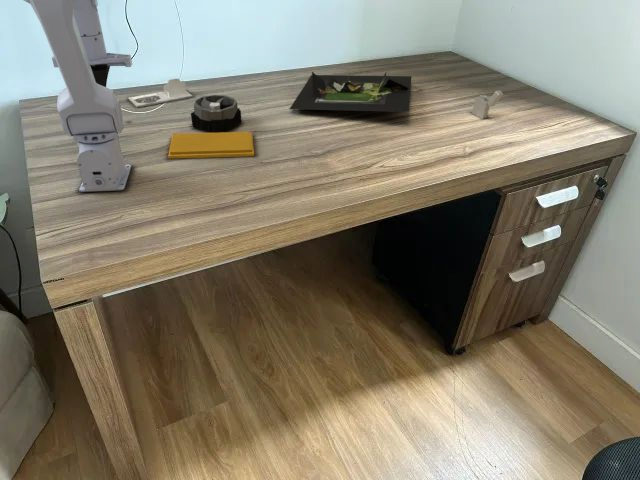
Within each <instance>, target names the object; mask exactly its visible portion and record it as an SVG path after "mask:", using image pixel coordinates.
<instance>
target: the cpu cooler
mask: <svg viewBox="0 0 640 480" xmlns="http://www.w3.org/2000/svg"><path fill="white" fill-rule="evenodd" d="M190 117H191V119H190V120H191V125H192V127H193V128H194V129H198V130H202V131H205V132H208V133H219V132H230V131H231V130H232V129H234V128H235V127H237V126H239V125H241V123H242V110H241V109H240V108H239V107H238V101H237V100H236V99H235V98H234V97H232V96H228V95H223V94H222V95H221V94H211V95H205V96H204V95H203V96H200V97H199V98H197V99H196V100H195V101H194V103H193V112H191V113H190Z"/></svg>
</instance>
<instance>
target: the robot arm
mask: <svg viewBox="0 0 640 480" xmlns="http://www.w3.org/2000/svg"><path fill="white" fill-rule="evenodd" d="M23 1H24V2H26V3H27V4H29V5H30V6H31V8H32V10H33V11H34V13H35V15H36V17H37V19H38V22H39V23H40V25H41V28H42V30H43V32H44V35H45V37H46V40H47V42H48V45H49V48H50V50H51V51H52V57H51V60H52V64H53V68H58V70H59V72H60V74H61V76H62V77H61V78H62V79H63V81H64V84H65V88H63V89H62V90H61V91H60V92H59V93H58V95H57V98H56V99H57V100H56V101H57V102H56V106H57V107H56V108H57V113H58V116H59V120H60V124H61V127H62V130H63V132H64V134H65V135H67V136H68V137H70V138H71V137H72V138H73V142H74V143H75V142H76V143H77V147H78V155H77V159H76V165H77V168H78V171H79V174H80V178H81V184H80V187H79V189H78V190H79V192H81V193H87V192H88V193H89V192H111V191H124V190H125V189H126V185H127V182H128V178H129V176H130V172H131V169H132V165H131V164H125V161H124V160H125V159H124V156H123V151H122V146H121V142H120V137H119V134H121V133H122V132H123V131H124V128H125V127H124V126H125V125H124V117H123V111H122V107H121V102H120V101H119V100H118V98H117V95H116V93H115V92H114V90H113V89H111V88H109V87H107V84H108V78H109V72H110V69H111V67H125V68H131V67H132V65H133V60H132V55H131V54H123V53H114V52H107V47H106V44H105V39H104V38H105V37H104V34H103V29H102V25H101V19H100V15H99V10H98V8H97V7H98V0H23Z"/></svg>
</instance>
